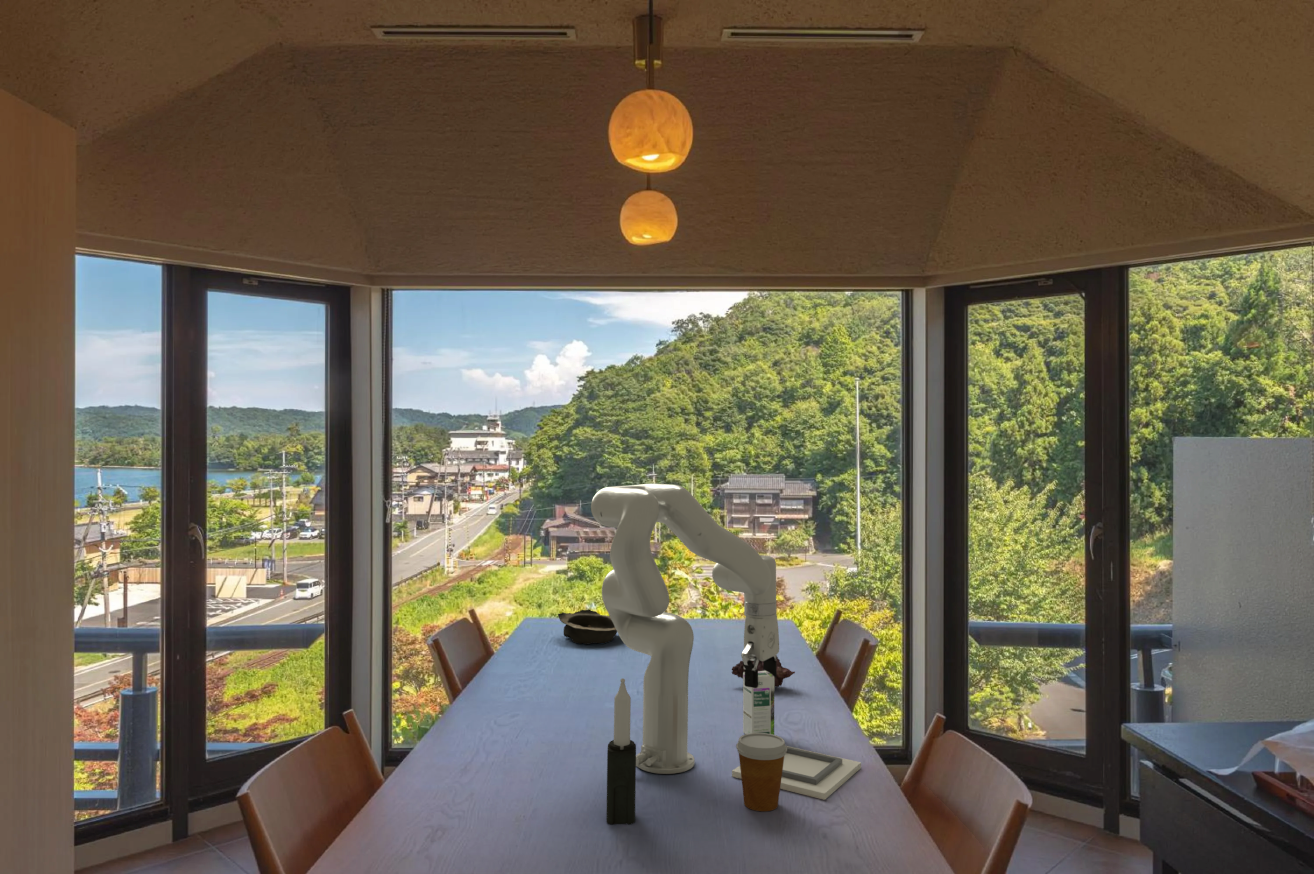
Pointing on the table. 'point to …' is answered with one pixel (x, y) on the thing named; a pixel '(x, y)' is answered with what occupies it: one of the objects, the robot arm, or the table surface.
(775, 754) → the disposable coffee cup
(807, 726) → the table surface
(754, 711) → the syrup box
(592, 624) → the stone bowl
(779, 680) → the pine cone
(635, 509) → the robot arm
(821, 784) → the baseplate
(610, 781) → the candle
